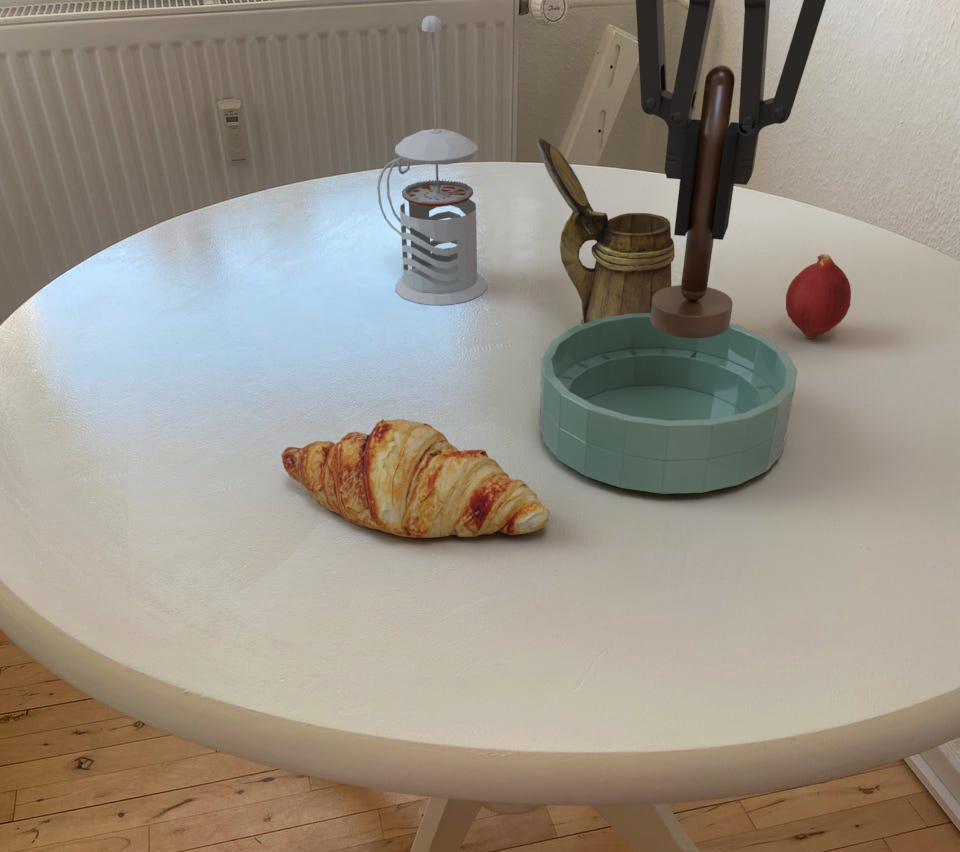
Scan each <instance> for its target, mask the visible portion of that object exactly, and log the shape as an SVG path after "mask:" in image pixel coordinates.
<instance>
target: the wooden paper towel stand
mask: <svg viewBox="0 0 960 852" xmlns="http://www.w3.org/2000/svg"><path fill="white" fill-rule="evenodd" d="M735 82H736V78H735V74H734V72H733V70H732V68H730V67H729V66H727V65H724V64H719V65H716V66H714V67H712V68H711V69H709V71H708V72H707V74H706V77H705V81H704V88H703V95H702V105H701V112H700V120H701V121H700V132H699V140H698V149H697V157H696V166H695V174H694V183H693V191H692V200H691V208H690V217H689V225H688V231H687V234H686V241H685V247H684V248H685V249H684V258H683V266H682V268H683V269H682V274H681V275H682V277H681V283H680V284H678V285H671V287H667V288H664V289H661V290H659V291H658V292H656V293H655V294H654V296H653V298H652V306H651V316H650V321H651V324H652V325H653V326H654V327H655V328H656V329H658V330H659V331H661V332H664V333H666V334H669V335H673V336H677V337H683V338H706V337H712V336H716V335H719V334H721V333H723V332H725V331H726V330H727V329H728V328H729V326H730V323H731V318H732V312H733V305H734V302H733V299H732V298H731V297H730V296H729V295H728V294H727V293H725V292H723V291H721V290H719V289H716V288H713V287H709V286H708V285H709V278H710V269H711V263H712V255H713V247H714V240H715V239H711V238H712V230H713V223H714V215H715V208H716V200H717V193H718V185H719V177H720V170H721V162H722V155H723V147H724V140H725V133H726V131H727V129H728V128H729V125H730V122H731V121H730V120H731V113H732V105H733V99H734V98H733V97H734V91H735V84H736V83H735Z"/></svg>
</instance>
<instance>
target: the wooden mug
mask: <svg viewBox="0 0 960 852" xmlns="http://www.w3.org/2000/svg"><path fill="white" fill-rule="evenodd" d="M537 148H538V150H539V154H540V156H541V159H542V161H543V164H544V167H545V170H546V171H547V174H548V176H549V178H550V179H551V181H552V182H553V184H554V186H555V187H556V189H557V190H558V192H559V194H560V195H561V197H562V198H563V200H564V201H565V204H566V205H567V206H568V207H569V208H570V209H571V210H572V213H571V215H570V216H569V217H568V219H567V221H565V224H564V226H563V229H562V231H561V234H560V243H559V252H560V258H561V263H562V265H563V267H564V270H565V271H566V274H567V275H568V278H569V279H570V281H571V283H572V285H573V286H574V288H575V290H576V292H577V294H578V296H579V298H580V301H581V309H582V310H581V311H582V313H581V314H582V319H581V320H580V323H579V325H582V324H585V323H587V322H590V321H593V320H596V319H600V318H606V317H612V316H619V315H625V314H631V313H651V306H652V298H653V296H654V294H655V293H656V292H658V291H659V290H661V289H664V288H667V287H671V286H672V263H673V262H674V260H675V242H674V239H673V238H672V228H671V227H672V226H671V222H670V219H668V218H667V217H665V216H662V215H660V214H659V215H658V214H653V213H649V212H628V213H623V214H619V215H616V216H613V217H611V218H609V216H608V214H607V213H606V212H602V211H595V210H594V208H593V207H592V206H591V204H590V202H589V200H588V199H589V198H588V197H587V195H586V191H585V190H584V188H583V186H582V183H581V182H580V180H579V178H578V176H577V175H576V173H575V171H574V170H573V167H571V165H570V163H569V162H568V161H567V159H566V158H565V156H564V155H563V154H562V153H561V151H560V150H559V149H558V148H557V147H555V146H554V145H553V144H552V143H549V142H548V141H547V140H545V139H544V138H542V137H540V138H539V139H538V141H537ZM589 241H595V242H596V243H594V244H592V246H591V255H592V256H593V258H594V259H595V263H594V266H593V267H587V266H585V265H583V263H582V260H581V259H580V250H581V248H582V247H583V245H584V244H585V243H586V242H589Z"/></svg>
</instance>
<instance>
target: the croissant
mask: <svg viewBox="0 0 960 852" xmlns="http://www.w3.org/2000/svg"><path fill="white" fill-rule="evenodd" d="M281 461H282V465H283V469H284V470H285V472H287V474H288V476H289V477H290V478H292V479H293V480H295V481H297V482H298V483H299V484H300V485H301V486H303V487H304V488H306V491H308V493H309V494H310V496H311V498H313V500H314V501H315V502H317V503H319V505H320V506H321V507H323V508H326V509H327V510H329V511H330V512H333V513H334V512H335V513H336V514H339V515H340V516H341V517H343V518H344V519H345V520H347V521H348V522H350V523H352V524H355V525H357V526H360V527H364V528H365V527H366V528H369V529H372V530H379V531H382V532H384V533H388V534H392V535H394V536H400V537H404V538H427V539H429V538H431V539H432V538H443V537H449V536H451V535H452V536H453V535H456V536H457V537H460V538H472V537H474V538H475V537H478V536H480V535H493V534H494V533H496V532H501V533H503V534H507V535H510V536H515V535H516V536H517V535H522V534H523V535H524V534H530V533H534V532H537V531H539V530H541V529H543V528H544V527H546V526H547V525H548V523H549V522H550V510H549V508H546V506H544V505H543V503H542V501H541V499H540V498H538V497H537V494H536V493H535V492H534V491H533V489H531V488H530V487H529V485H528V484H527V483H526V482H525V481H523V480H520V479H512V478H510V477H509V474H508V473H507V472H505V471H504V469H503V468H502V467H501V466H500V464H499V463H498V462H497V461H496V459H493V458H491V457H489V455H488V454H487V450H484V449H466V450H459V449H458V448H457V446H455V445H453V444H452V443H451V442H449V441H448V439H447V437H446V436H445V435H444V433H442V432H440V431H439V430H438V429H436V428H434V427H433V426H432V425H431V424H429V423H425V422H422V421H421V422H419V421H413V420H407V419H402V418H401V419H400V418H399V419H386V420H384V419H381V420H380V421H378V422H377V423H376V424H375V426H374V427H373V429H372V430H371V432H370V433H369V434H367V433H366V432H364V433H363V432H359V431H352V432H348V433H347V434H346V435H344V436H343V437H341V439H340V441H338V442H336V443H334V442H333V441H330V440H316V441H314V442H310V443H308V444H306V445H305V446H303V447H302V448H301V447H296V446H287V447H286V448H285V449H284V451H283V452H281Z"/></svg>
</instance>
